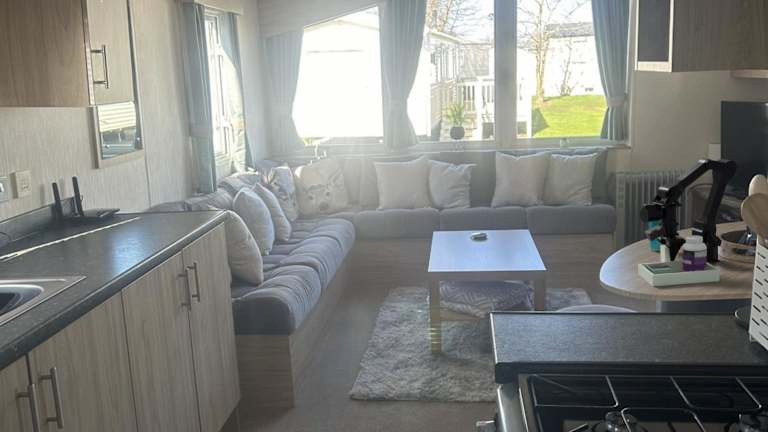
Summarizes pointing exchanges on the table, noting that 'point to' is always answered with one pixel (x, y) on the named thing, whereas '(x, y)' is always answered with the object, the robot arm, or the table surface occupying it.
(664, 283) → the tote
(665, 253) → the carton
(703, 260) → the pill bottle
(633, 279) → the table surface
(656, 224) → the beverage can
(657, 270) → the tin
